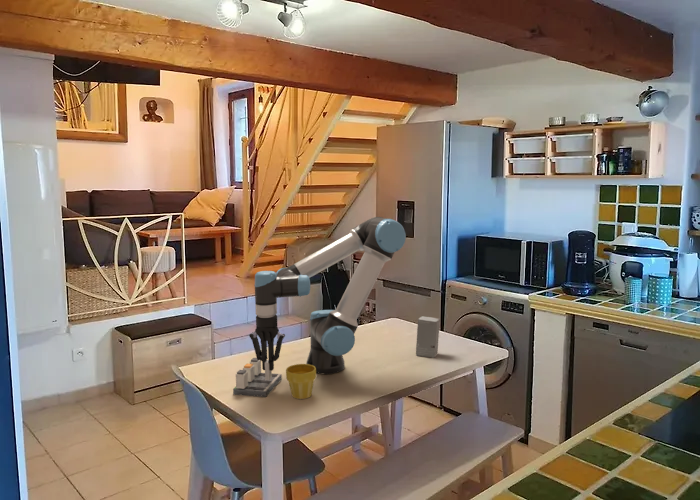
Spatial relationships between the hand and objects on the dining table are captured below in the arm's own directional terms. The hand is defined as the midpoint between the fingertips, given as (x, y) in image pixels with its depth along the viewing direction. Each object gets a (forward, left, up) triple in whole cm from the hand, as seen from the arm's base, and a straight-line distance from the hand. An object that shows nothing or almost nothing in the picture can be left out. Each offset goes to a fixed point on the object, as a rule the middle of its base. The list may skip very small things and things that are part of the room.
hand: (268, 378), depth 201 cm
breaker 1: (+7, +7, -1) cm, 10 cm away
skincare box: (-54, -48, -4) cm, 72 cm away
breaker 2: (+7, 0, -1) cm, 8 cm away
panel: (+4, 0, -3) cm, 5 cm away
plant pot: (-14, +5, -4) cm, 15 cm away
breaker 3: (+7, -6, -1) cm, 10 cm away
